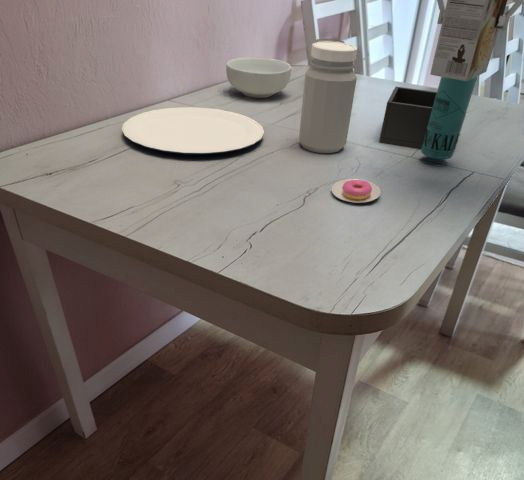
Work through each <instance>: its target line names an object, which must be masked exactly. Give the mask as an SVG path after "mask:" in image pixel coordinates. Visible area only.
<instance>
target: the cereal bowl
mask: <svg viewBox="0 0 524 480" xmlns="http://www.w3.org/2000/svg"><path fill="white" fill-rule="evenodd" d="M225 71H226V78H227V80H228V82H229V85H231V87H232V88H234V89H235V90H236V91H238V92H241V93H242V94H243V96H246V97H248V98H255V99H265V98H266V99H268V98H271V97H273V95H274V94H277V93H280V92H281V91H283V90H284V89H285V88H286V87H287V86H288V84H289V82H290V81H291V74H292V65H291V64H289V63H288V62H287V61H284V60H280V59H274V58H268V57H254V56H253V57H252V56H251V57H238V58H233V59H230V60H228V61H226V64H225Z"/></svg>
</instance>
